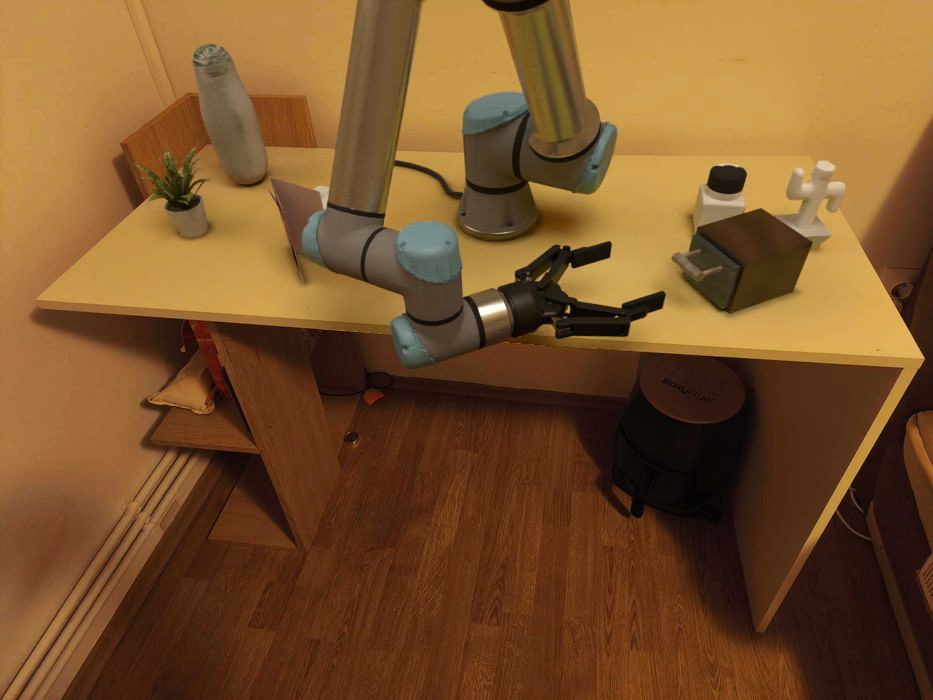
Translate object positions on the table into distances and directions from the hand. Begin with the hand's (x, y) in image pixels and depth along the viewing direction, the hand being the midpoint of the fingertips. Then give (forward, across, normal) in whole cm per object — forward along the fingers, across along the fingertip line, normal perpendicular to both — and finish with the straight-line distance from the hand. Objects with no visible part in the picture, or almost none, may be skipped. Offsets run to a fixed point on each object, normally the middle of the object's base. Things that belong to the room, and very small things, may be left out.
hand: (635, 273), depth 90 cm
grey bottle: (-48, -75, -9) cm, 89 cm away
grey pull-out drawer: (+17, 0, -8) cm, 19 cm away
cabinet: (+22, 0, -9) cm, 23 cm away
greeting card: (-42, -38, -10) cm, 57 cm away
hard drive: (-33, -56, -9) cm, 66 cm away
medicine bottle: (+28, -15, -9) cm, 34 cm away
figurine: (+38, -5, -9) cm, 40 cm away
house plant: (-60, -58, -10) cm, 84 cm away
